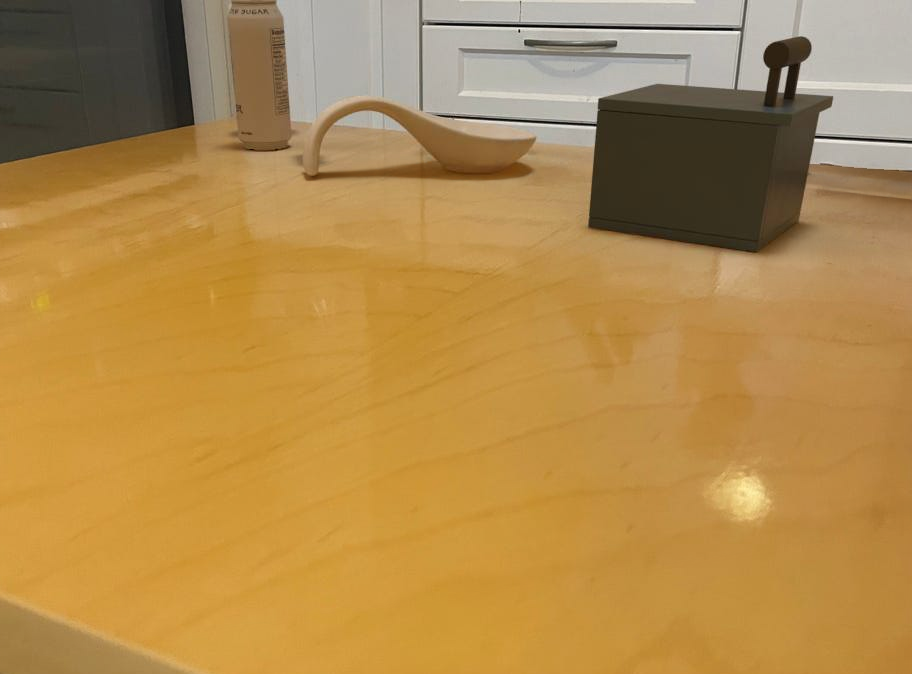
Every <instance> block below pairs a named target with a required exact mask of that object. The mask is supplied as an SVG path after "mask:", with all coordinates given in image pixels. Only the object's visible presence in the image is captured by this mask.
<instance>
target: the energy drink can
mask: <svg viewBox="0 0 912 674" xmlns="http://www.w3.org/2000/svg"><path fill="white" fill-rule="evenodd" d="M230 1H231V2H230V3H231V7H230V9H229V12H228V14H227V17H226V20H227V30H228V41H229V52H230V63H231V71H232V73H231V74H232V82H233V83H232V84H233V94H234V103H235V104H234V106H235V114H236V116H235V117H236V125H237V136H238V140H239V141H240V142H241V143H242V144H243V148H244V147H245V148H244V149H246V148H247V149H246V150H249V149H254V150H253V151H276V150H275V149H278V150H283V149H286V148H288V142H289V141H290V140H291V139H292V122H291V107H290V93H289V80H288V79H289V78H288V63H287V51H286V50H287V49H286V36H285V21H284V20H285V19H284V16H283V14H282V13H281V10H280V9H279V6H278V5H277V0H230ZM285 147H286V148H285ZM282 148H283V149H282Z"/></svg>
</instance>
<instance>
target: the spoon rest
mask: <svg viewBox="0 0 912 674" xmlns="http://www.w3.org/2000/svg"><path fill="white" fill-rule="evenodd" d="M359 112H376V113H380V114H381V115H385V116H387V117H388V118H390V119H392V120H394V121H395V122H396V123H398V124H399V125H400V126H401V127H402V128H403V129H404V130H406V131H407V132H408V133H409V134H410V135H411V136H412V137H413V138H414V139H415V140H416V141H417V142H418V144H420V146H422V148H423V149H424V150H426V152H427V153H428V154H429V155H430V156H431V157H433V159H435V160H436V161H437V162H438V163H439V164H440V165H441V166H442V168H443V169H445V170H447V171H451V172H456V173H464V174H465V173H466V174H490V173H497V172H500V171H501V170H503V169H504V168H507V167H510V166H511V165H513V164H515V163H517V162H518V161H519V160H520V159H521V158H523V157H524V156H525V155H526V154H527V153H528V152H529V151H530V150H531V148H532V147H533V146H534V144H535V143H536V141H537V135H536V134H535V133H533V132H531V131H528V130H525V129H521V128H516V127H511V126H505V125H500V124H493V123H485V122H476V121H467V120H460V119H454V118H449V117H443V116H438V115H435V114H432V113H429V112H425V111H423V110H420V109H418V108H415V107H413V106H410V105H409V104H405V103H402V102H400V101H397V100H394V99H390V98H388V97H382V96H377V95H366V94H365V95H364V94H363V95H355V96H350V97H346V98H343V99H341V100H339V101H337V102H334V103H333V104H330V105H329V106H328V107H326V108H325V109H324V110H323V111H321V112H320V114H319V115H317V117H316V118H315V119H314V121H313V123H312V124H311V126H310V127H309V129H308V132H307V134H306V137H305V141H304V144H303V150H302V167H303V170H304V172H305V173H306V174H307V175H308V176H311V177H312V176H316V175H318V173H319V169H320V152H321V151H320V150H321V147H322V143H323V140H324V138H325V136H326V133H327V132H328V131H329V129H330V128H331V127H332V126H333V125H334V124H335V123H337V122H338V121H340V120H341V119H343V118H345V117H347V116H349V115H353V114H356V113H359Z"/></svg>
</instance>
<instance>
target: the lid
mask: <svg viewBox="0 0 912 674" xmlns="http://www.w3.org/2000/svg"><path fill="white" fill-rule="evenodd" d="M812 49H813V47H812V42H811V41H810V39H809V38H807V37H806V36H801V35H800V36H795V37H789V38H786V39H780V40H777V41H773V42H771V43H770V44H768V45H767V46H766V47H765V49H764V51H763V54H762V60H763V63H764V65H765V66H766V67H767V68H768V69H769V71H768V76H767V83H766V88H765V90H753V89H751V90H749V89H737V88H723V87H722V88H721V87H710V86H708V87H707V86H695V85H681V84H666V83H655V84H649V85H645V86H643V87H638V88H635V89H631V90H625V91H623V92H619V93H614V94H610V95H606V96H602V97H598V100H597V111H598V110H609V111H621V112H632V113H644V114H655V115H666V116H678V117H689V118H701V119H712V120H724V121H735V122H747V123H758V124H770V125H781V126H791V125H793V124H795V123H798V122H800V121H802V120H804V119H806V118H809V117H811V116H813V115H815V114H817V113H819V112H820V113H821V112H824V111H826V110H828V109H830V108H832V106H833V102H834V96H833V95H823V94H822V95H821V94H807V93H797V87H798V81H799V77H800V71H801V65H802V63H803V62H805V61H807V60H808V58H809V57H810V56H811V53H812ZM787 67H788V68H787ZM784 68H787V74H786V79H785V80H786V81H785V85H784V91H783V92H782V91H781V92H780V91H779V88H780V82H781V77H782V70H783V69H784ZM820 113H819V114H820Z"/></svg>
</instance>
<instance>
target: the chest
mask: <svg viewBox="0 0 912 674" xmlns="http://www.w3.org/2000/svg"><path fill="white" fill-rule="evenodd" d="M820 113H821V112H819V113H817V114H815V115H813V116H811V117H809V118H806V119H804V120H802V121H800V122H798V123H795V124H793V125H791V126H781V125H770V124H758V123H747V122H735V121H724V120H712V119H701V118H689V117H678V116H666V115H655V114H644V113H632V112H621V111H609V110H598V109H597V113H596V125H595V135H594V136H595V137H594V148H593V149H594V150H593V162H592V174H591V186H590V198H589V210H588V222H587V223H588V224H587V227H588V228H592V229H598V230H602V231H603V230H604V231H612V232H616V233H617V232H618V233H625V234H630V235H631V234H632V235H636V236H637V235H638V236H644V237H650V238H658V239H664V240H671V241H678V242H684V243H691V244H698V245H704V246H712V247H718V248H724V249H731V250H738V251H745V252H750V253H751V252H752V253H757V252H758V251H760V250H762V249H763V248H764V247H766V246H767V245H768V244H769V243H771V242H772V241H773V240H774V239H777V238H778V237H779V236H780V235H781V234H783V233H784V232H786V231H787V230H788V229H790V228H791V227H793V226H794V225H795V224H796V223H798V222H799V221H800V216H801V211H802V207H803V203H804V195H805V191H806V184H807V180H808V175H809V171H810V170H809V169H810V166H811V165H810V164H811V160H812V154H813V148H814V145H815V138H816V133H817V128H818V123H819V118H820Z"/></svg>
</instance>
